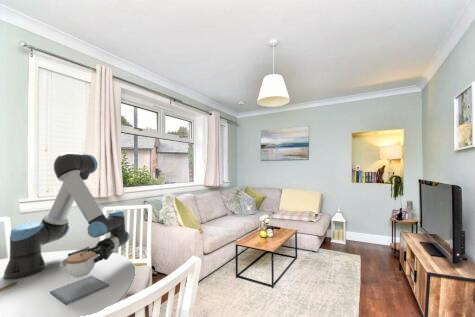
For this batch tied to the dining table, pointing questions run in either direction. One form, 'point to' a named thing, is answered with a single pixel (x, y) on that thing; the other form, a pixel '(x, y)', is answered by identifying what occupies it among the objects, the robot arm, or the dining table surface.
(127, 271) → the dining table surface
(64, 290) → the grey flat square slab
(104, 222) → the robot arm
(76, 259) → the lidded jar
